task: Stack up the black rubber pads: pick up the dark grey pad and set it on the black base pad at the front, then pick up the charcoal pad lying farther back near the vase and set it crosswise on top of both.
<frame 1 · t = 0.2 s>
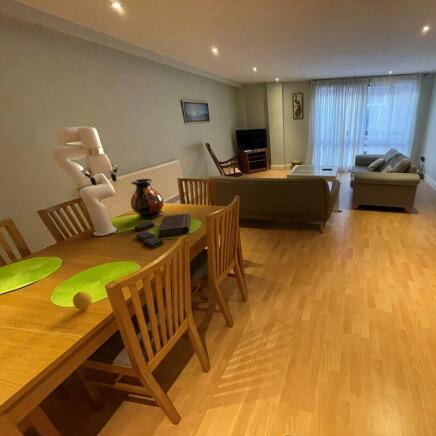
hand: (105, 183, 134), 36 cm above the table, tool pointing down, fingers open, 9 cm apart
pad top: (144, 228, 165), on the table
amphora vase: (151, 216, 186), on the table
pad base: (153, 244, 143), on the table
diary: (175, 228, 165), on the table
brown egg shape: (86, 308, 95), on the table
pad mid: (146, 238, 151), on the table
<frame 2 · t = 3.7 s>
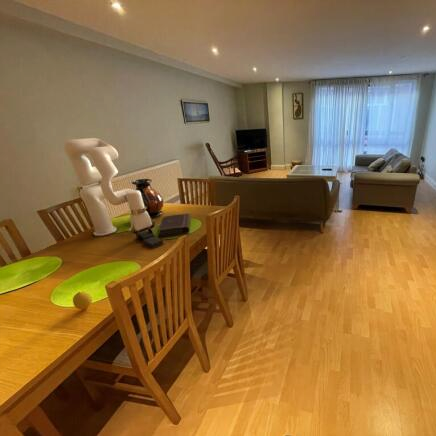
hand: (145, 237, 151), 1 cm above the table, tool pointing down, fingers closed on pad mid, 6 cm apart
pad mid: (146, 238, 151), on the table, touching gripper
everything else where it was.
when the fingers open (3 cm above the table, at t = 9.2 s): pad mid stays where it is, resting on pad base.
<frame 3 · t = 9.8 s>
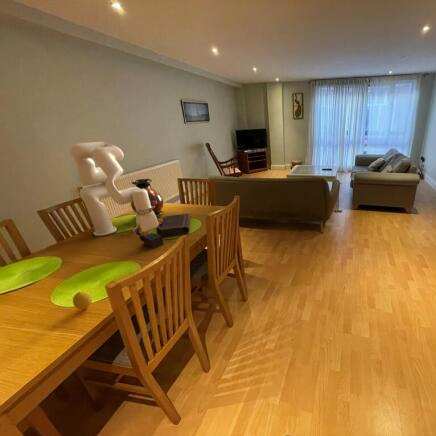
hand: (151, 237, 142), 4 cm above the table, tool pointing down, fingers open, 9 cm apart
pad base: (153, 244, 143), on the table, touching pad mid
pad mid: (152, 240, 142), point 3 cm above the table, touching pad base
everything else where it was.
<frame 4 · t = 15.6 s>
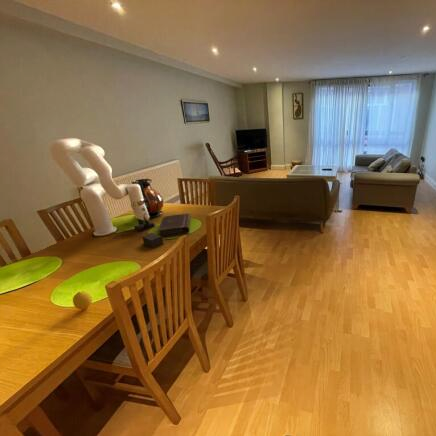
hand: (144, 227, 165), 1 cm above the table, tool pointing down, fingers closed on pad top, 6 cm apart
pad top: (144, 228, 165), on the table, touching gripper
everything else where it was.
when the fingers open (6 cm above the table, at t = 21.5 s): pad top stays where it is, resting on pad mid.
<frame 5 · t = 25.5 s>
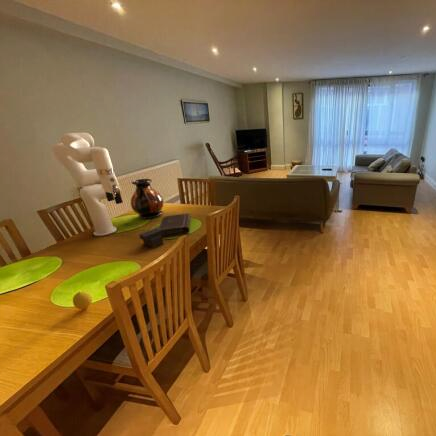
hand: (115, 201, 135), 26 cm above the table, tool pointing down, fingers open, 9 cm apart
pad top: (151, 236, 141), point 5 cm above the table, touching pad mid
pad mid: (152, 240, 142), point 3 cm above the table, touching pad base, pad top
everything else where it was.
at the end: pad mid 0.1 cm off-centre on the pad base, point 2.6 cm above the pad base's base; pad top 0.1 cm off-centre on the pad base, point 5.2 cm above the pad base's base; pad top tilted 0° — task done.
